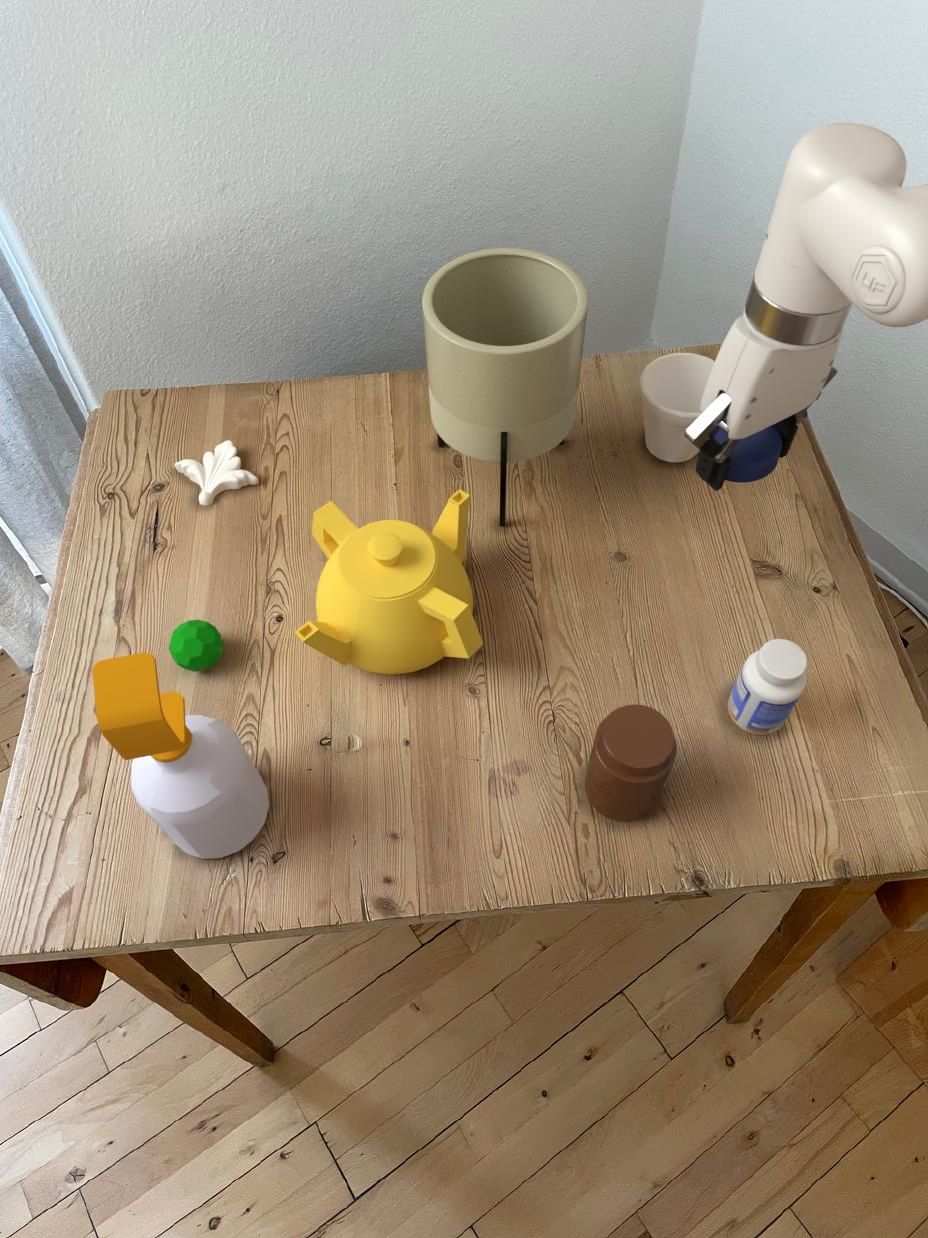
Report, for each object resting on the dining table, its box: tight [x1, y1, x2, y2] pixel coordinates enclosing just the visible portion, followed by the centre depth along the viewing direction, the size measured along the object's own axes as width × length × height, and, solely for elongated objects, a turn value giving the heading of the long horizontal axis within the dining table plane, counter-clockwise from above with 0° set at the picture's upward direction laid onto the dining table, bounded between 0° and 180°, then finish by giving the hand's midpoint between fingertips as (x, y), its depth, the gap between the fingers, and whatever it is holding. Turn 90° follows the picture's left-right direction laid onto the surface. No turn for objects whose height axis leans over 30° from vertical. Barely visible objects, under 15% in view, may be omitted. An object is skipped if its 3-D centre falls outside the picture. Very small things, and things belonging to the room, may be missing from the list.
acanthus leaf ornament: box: [174, 440, 260, 507], centre depth 99 cm, size 8×7×2 cm
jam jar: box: [584, 703, 678, 823], centre depth 74 cm, size 7×7×11 cm
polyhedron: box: [168, 619, 224, 673], centre depth 84 cm, size 5×5×5 cm
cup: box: [638, 352, 715, 464], centre depth 97 cm, size 10×10×9 cm
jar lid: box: [714, 425, 782, 484], centre depth 81 cm, size 7×7×2 cm
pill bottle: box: [727, 638, 808, 736], centre depth 78 cm, size 5×5×10 cm
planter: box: [421, 247, 589, 527], centre depth 90 cm, size 15×16×23 cm
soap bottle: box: [91, 651, 270, 860], centre depth 67 cm, size 9×9×25 cm
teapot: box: [293, 488, 484, 675], centre depth 84 cm, size 17×17×12 cm
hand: (740, 462), depth 82 cm, fingers closed on jar lid, 7 cm apart
